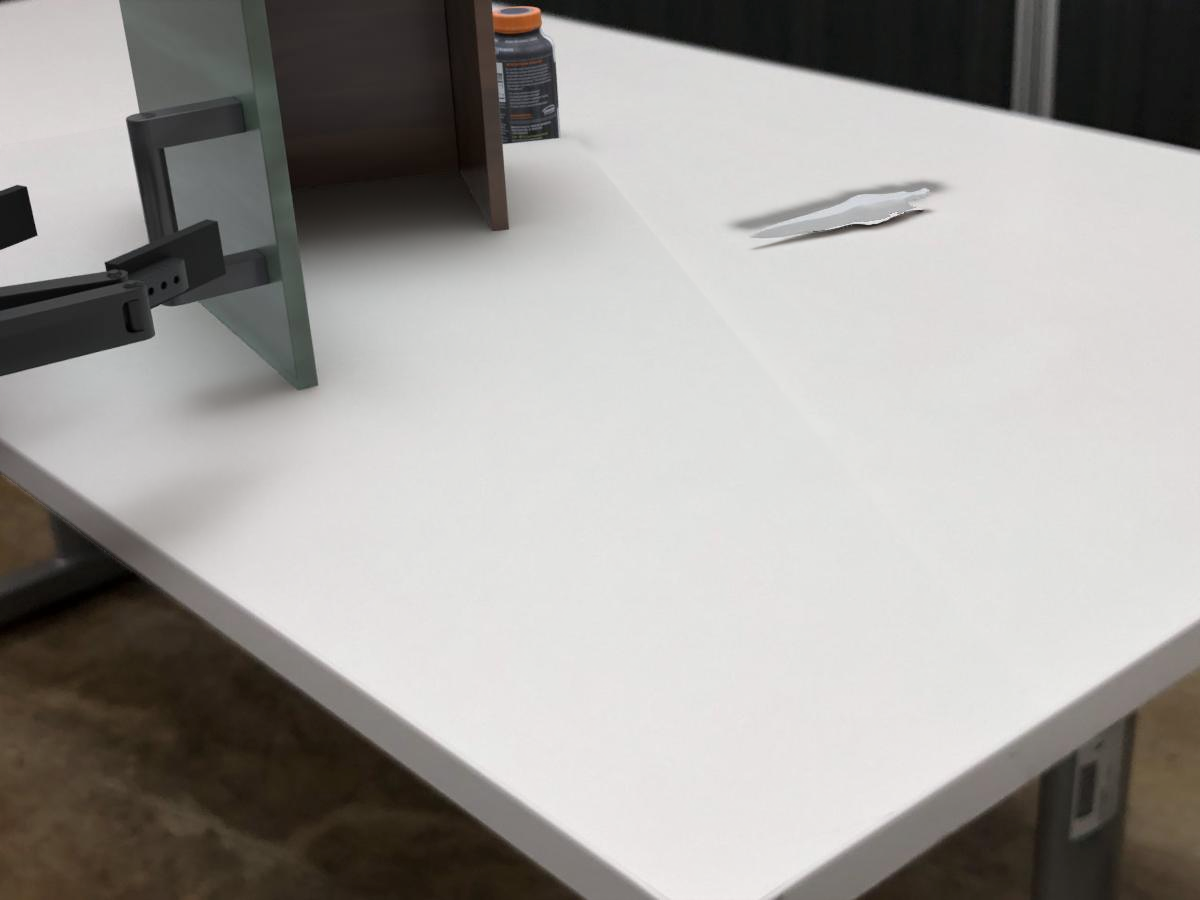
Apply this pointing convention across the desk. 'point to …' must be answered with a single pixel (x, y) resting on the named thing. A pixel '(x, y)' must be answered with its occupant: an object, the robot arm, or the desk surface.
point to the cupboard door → (221, 165)
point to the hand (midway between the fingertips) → (118, 227)
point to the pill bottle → (525, 76)
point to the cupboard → (390, 93)
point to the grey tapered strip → (845, 213)
